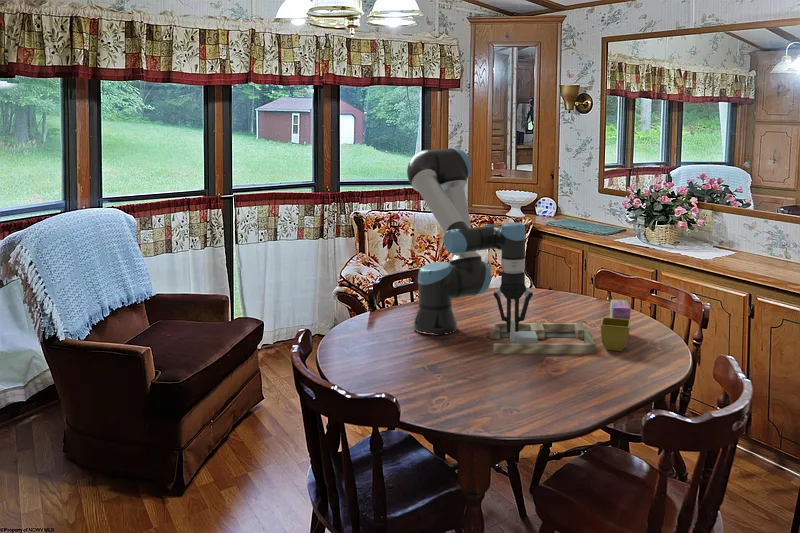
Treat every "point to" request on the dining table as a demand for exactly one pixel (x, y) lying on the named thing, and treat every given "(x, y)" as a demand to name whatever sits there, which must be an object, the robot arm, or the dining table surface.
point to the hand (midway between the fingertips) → (512, 341)
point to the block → (526, 337)
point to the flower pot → (614, 333)
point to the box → (620, 310)
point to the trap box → (545, 332)
